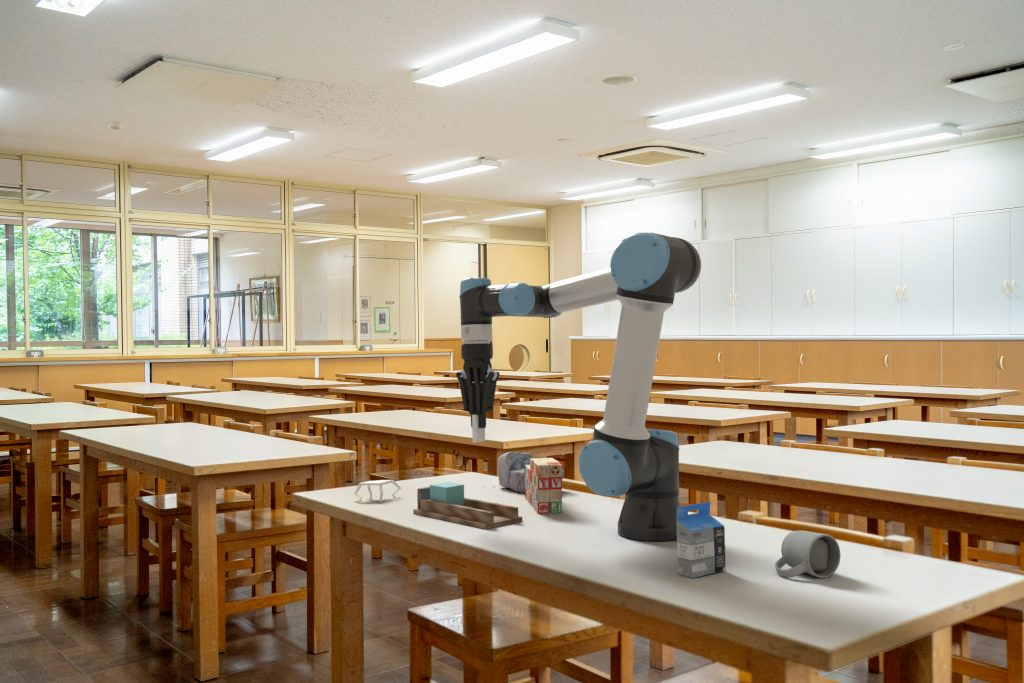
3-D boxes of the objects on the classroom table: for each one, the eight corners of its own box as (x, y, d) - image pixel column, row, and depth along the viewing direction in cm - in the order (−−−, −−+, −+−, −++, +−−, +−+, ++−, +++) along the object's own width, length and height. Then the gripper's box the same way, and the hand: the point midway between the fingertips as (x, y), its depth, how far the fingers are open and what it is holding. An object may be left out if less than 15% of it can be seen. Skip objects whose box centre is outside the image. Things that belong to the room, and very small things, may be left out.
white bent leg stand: (372, 504, 223) (372, 485, 223) (353, 500, 228) (353, 482, 228) (407, 498, 232) (407, 480, 232) (387, 494, 237) (387, 477, 237)
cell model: (519, 447, 255) (570, 454, 241) (518, 483, 255) (569, 492, 241) (488, 451, 245) (540, 459, 231) (487, 488, 245) (539, 498, 232)
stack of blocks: (524, 498, 230) (524, 453, 230) (547, 498, 231) (546, 453, 231) (537, 514, 209) (537, 464, 209) (562, 513, 210) (562, 463, 210)
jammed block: (464, 508, 210) (464, 484, 210) (445, 512, 206) (445, 487, 206) (448, 505, 214) (448, 482, 214) (430, 509, 210) (429, 484, 210)
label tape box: (692, 579, 150) (692, 509, 150) (675, 574, 153) (675, 506, 153) (726, 571, 155) (726, 504, 155) (709, 566, 158) (709, 501, 158)
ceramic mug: (808, 564, 159) (807, 524, 159) (842, 575, 152) (841, 532, 152) (764, 572, 155) (763, 530, 155) (796, 583, 148) (795, 539, 147)
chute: (522, 521, 200) (522, 495, 200) (485, 529, 192) (485, 502, 192) (449, 506, 218) (449, 483, 218) (413, 513, 210) (413, 489, 210)
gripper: (447, 343, 204) (449, 441, 204) (484, 342, 195) (486, 444, 195) (469, 343, 210) (472, 439, 209) (507, 342, 200) (509, 441, 200)
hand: (478, 441), depth 202 cm, fingers closed
